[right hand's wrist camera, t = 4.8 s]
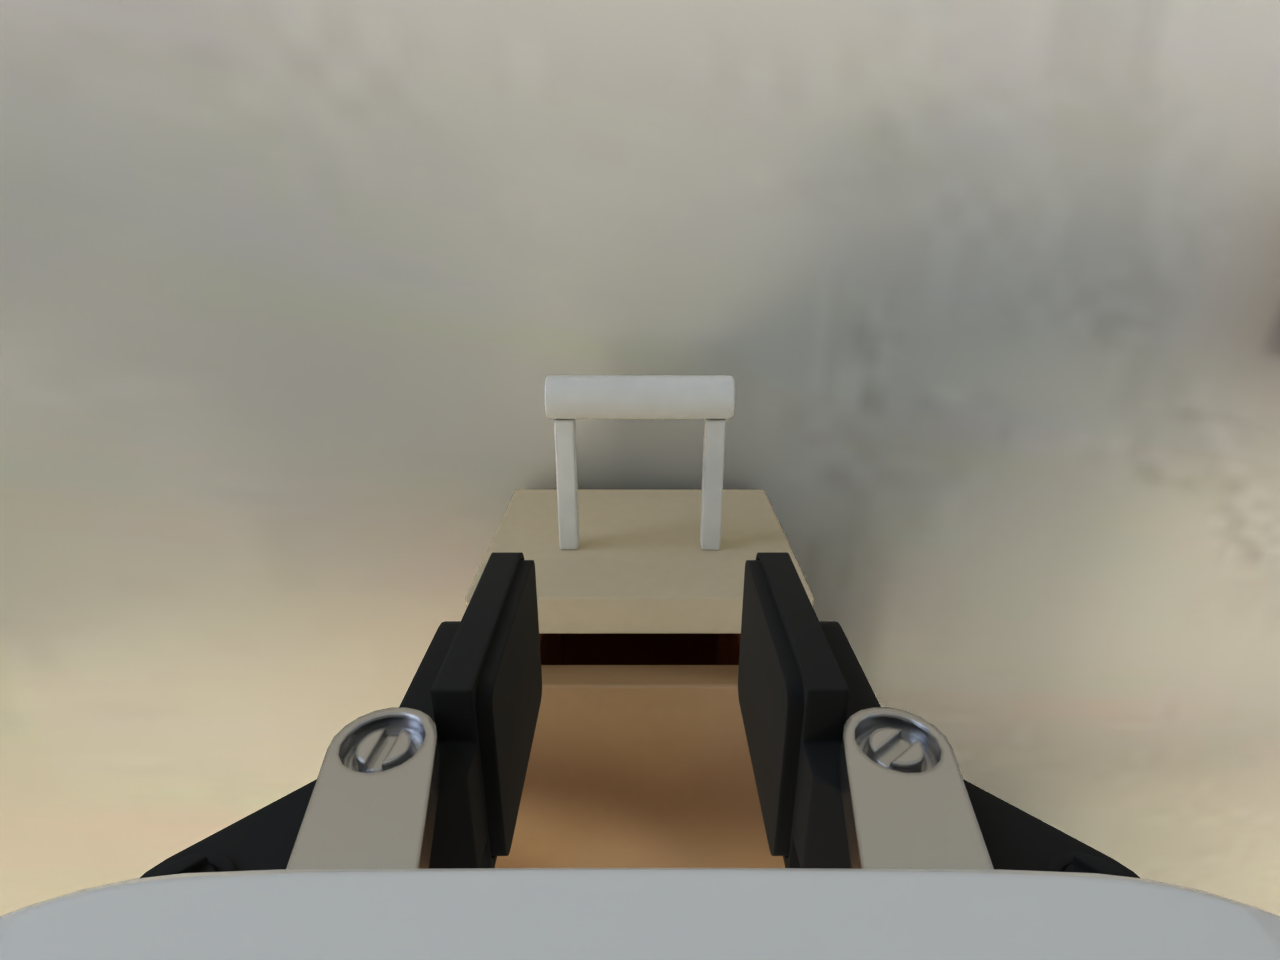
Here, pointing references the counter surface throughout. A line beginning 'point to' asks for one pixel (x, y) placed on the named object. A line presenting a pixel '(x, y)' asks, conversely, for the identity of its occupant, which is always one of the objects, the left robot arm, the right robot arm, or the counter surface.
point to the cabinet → (640, 772)
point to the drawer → (639, 536)
